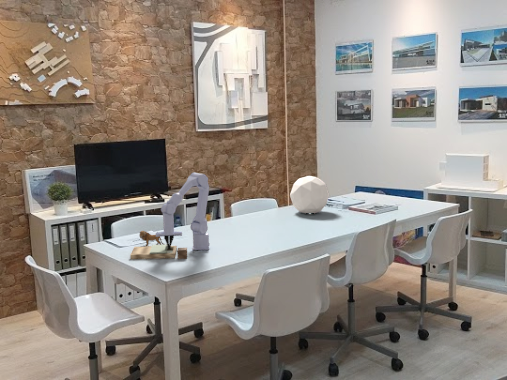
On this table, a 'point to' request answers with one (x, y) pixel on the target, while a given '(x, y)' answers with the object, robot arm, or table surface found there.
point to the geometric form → (309, 194)
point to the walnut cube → (182, 253)
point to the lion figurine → (149, 238)
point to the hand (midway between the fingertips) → (169, 248)
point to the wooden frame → (145, 254)
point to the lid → (158, 249)
